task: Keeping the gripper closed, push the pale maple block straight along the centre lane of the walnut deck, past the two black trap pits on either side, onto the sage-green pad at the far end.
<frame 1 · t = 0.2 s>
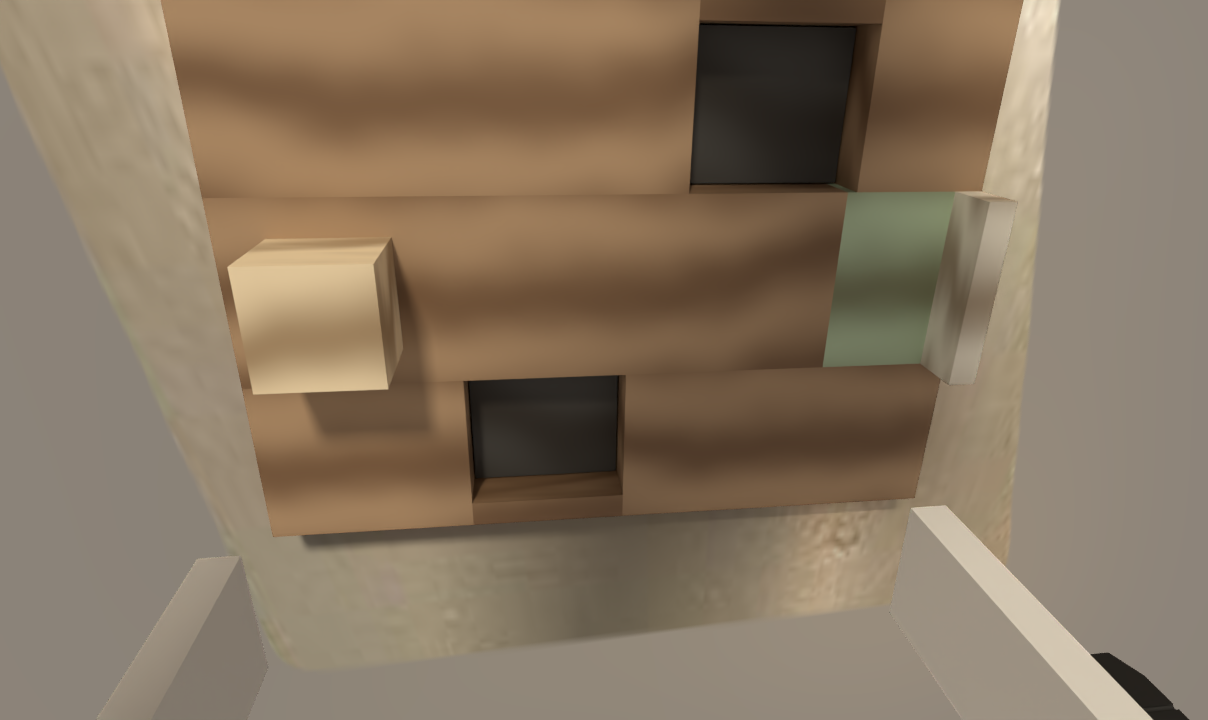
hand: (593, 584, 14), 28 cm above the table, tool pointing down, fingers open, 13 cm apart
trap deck: (607, 273, 40), on the table
maple block: (337, 296, 36), point 3 cm above the table, touching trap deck
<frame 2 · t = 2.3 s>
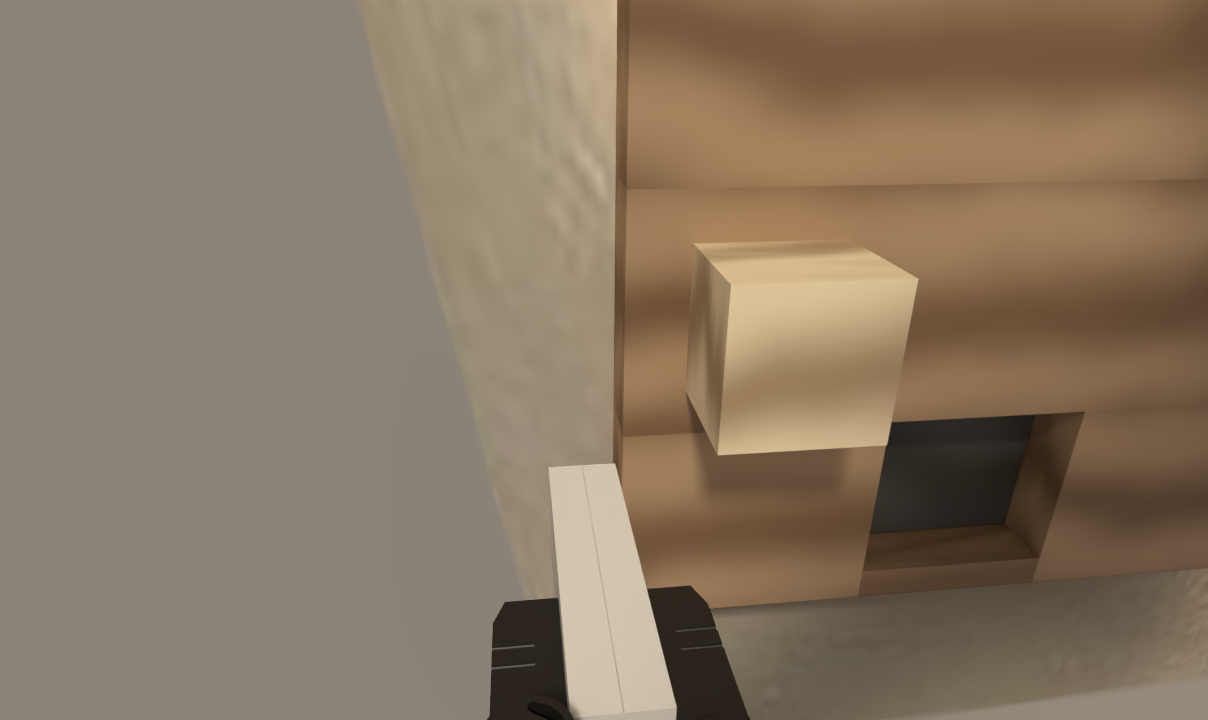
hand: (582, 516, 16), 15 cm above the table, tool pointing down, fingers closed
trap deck: (1051, 282, 32), on the table
maple block: (764, 317, 28), point 3 cm above the table, touching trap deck
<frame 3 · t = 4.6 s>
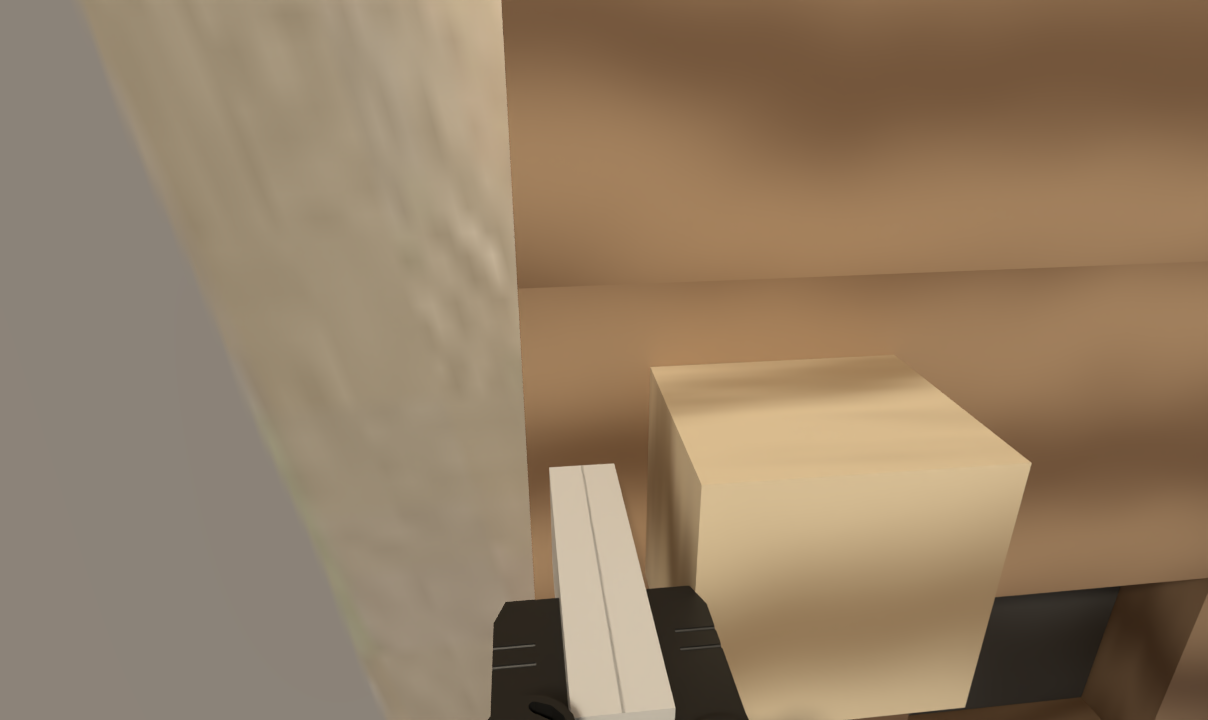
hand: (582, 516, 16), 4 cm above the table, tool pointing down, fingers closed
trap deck: (1159, 387, 22), on the table
maple block: (763, 468, 18), point 3 cm above the table, touching gripper
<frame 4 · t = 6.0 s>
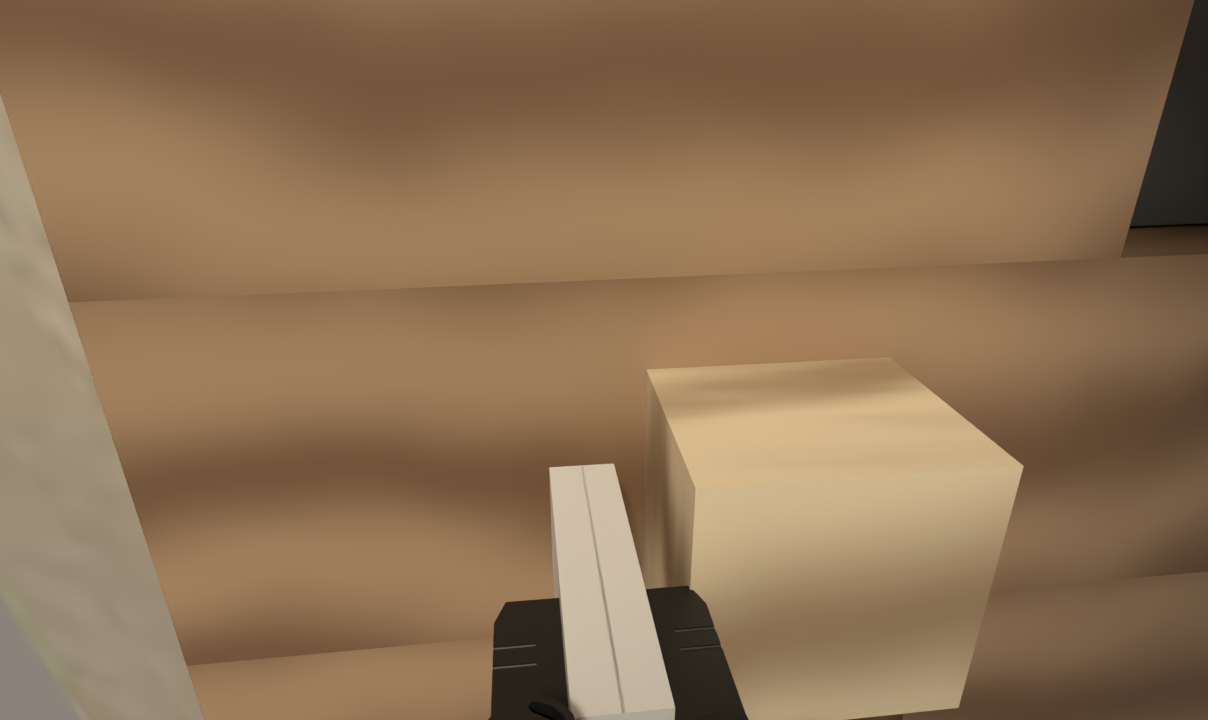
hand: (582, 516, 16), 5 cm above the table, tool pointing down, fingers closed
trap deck: (881, 398, 21), on the table
maple block: (759, 470, 18), point 3 cm above the table, touching gripper
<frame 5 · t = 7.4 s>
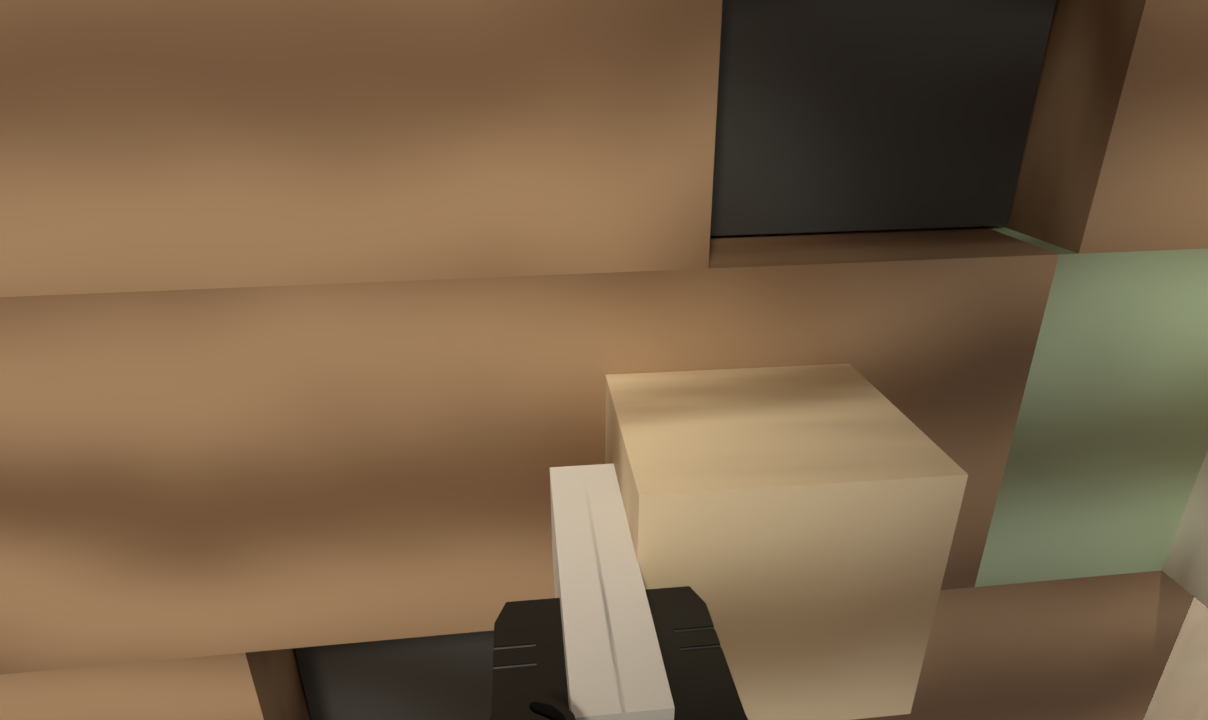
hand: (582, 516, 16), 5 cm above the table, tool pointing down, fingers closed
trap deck: (545, 413, 20), on the table
maple block: (721, 475, 18), point 3 cm above the table, touching gripper
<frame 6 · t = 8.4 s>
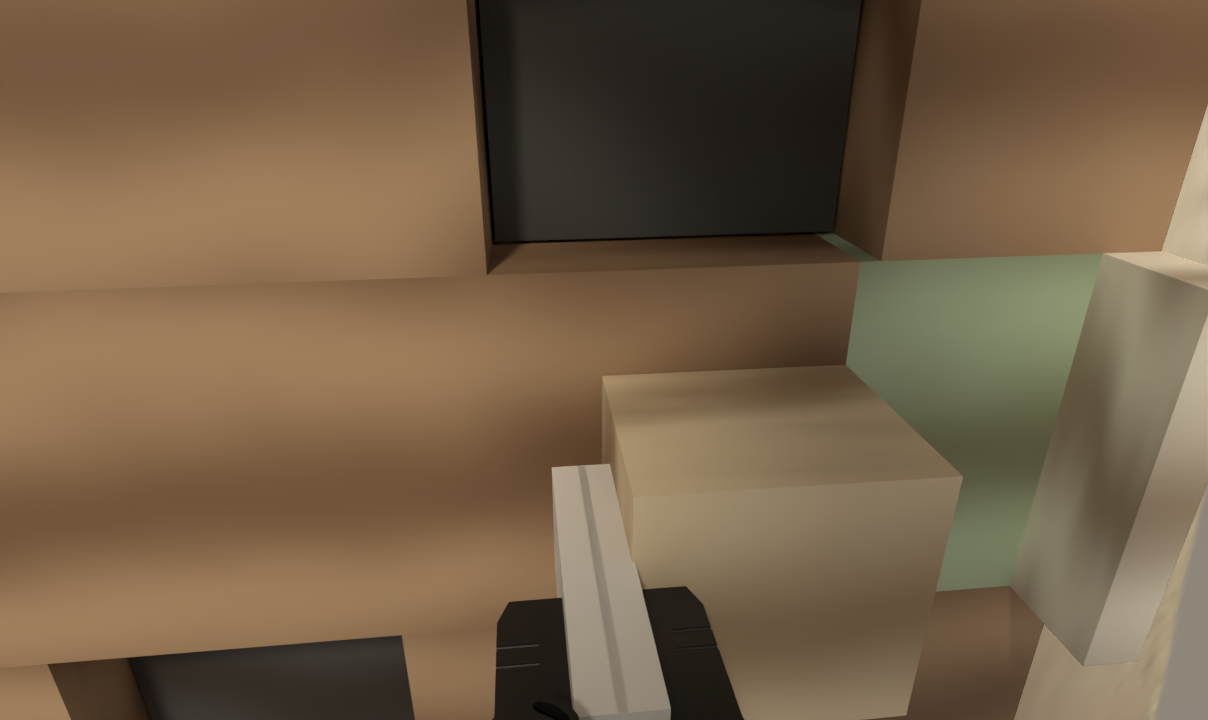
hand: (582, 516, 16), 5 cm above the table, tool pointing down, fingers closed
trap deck: (369, 421, 20), on the table
maple block: (717, 476, 18), point 3 cm above the table, touching gripper, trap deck
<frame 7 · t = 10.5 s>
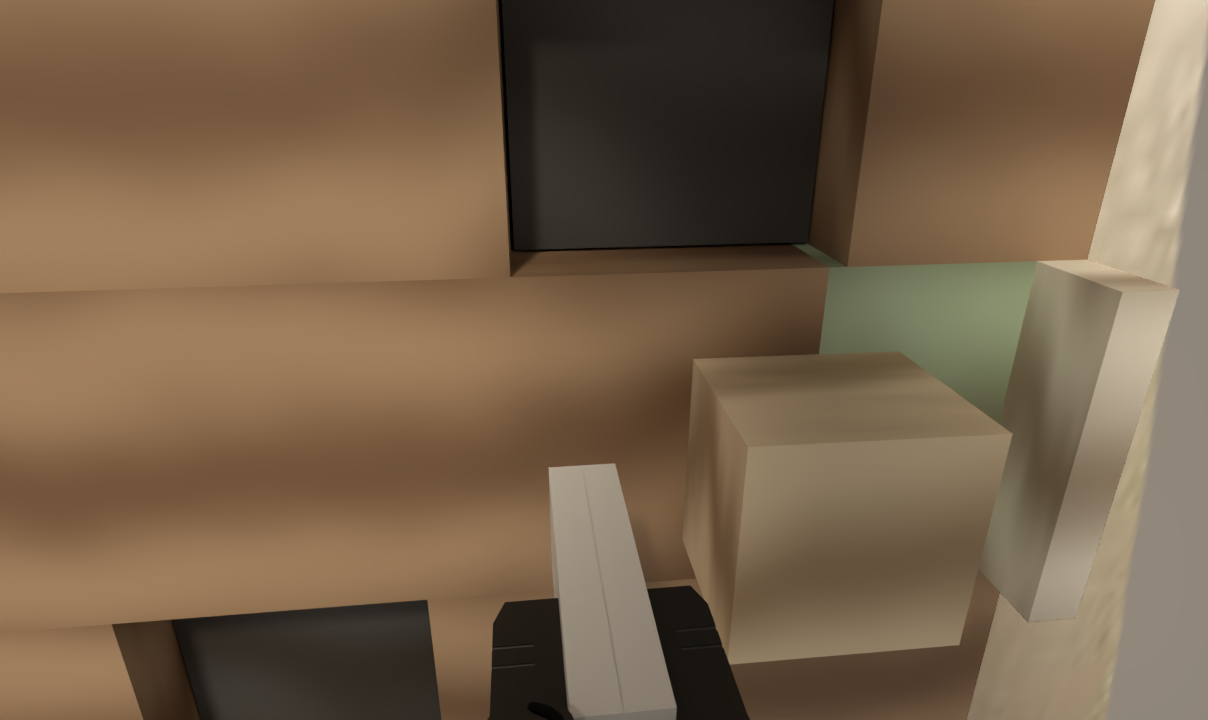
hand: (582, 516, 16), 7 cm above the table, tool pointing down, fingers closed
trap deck: (399, 409, 22), on the table
maple block: (786, 449, 21), point 3 cm above the table, touching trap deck
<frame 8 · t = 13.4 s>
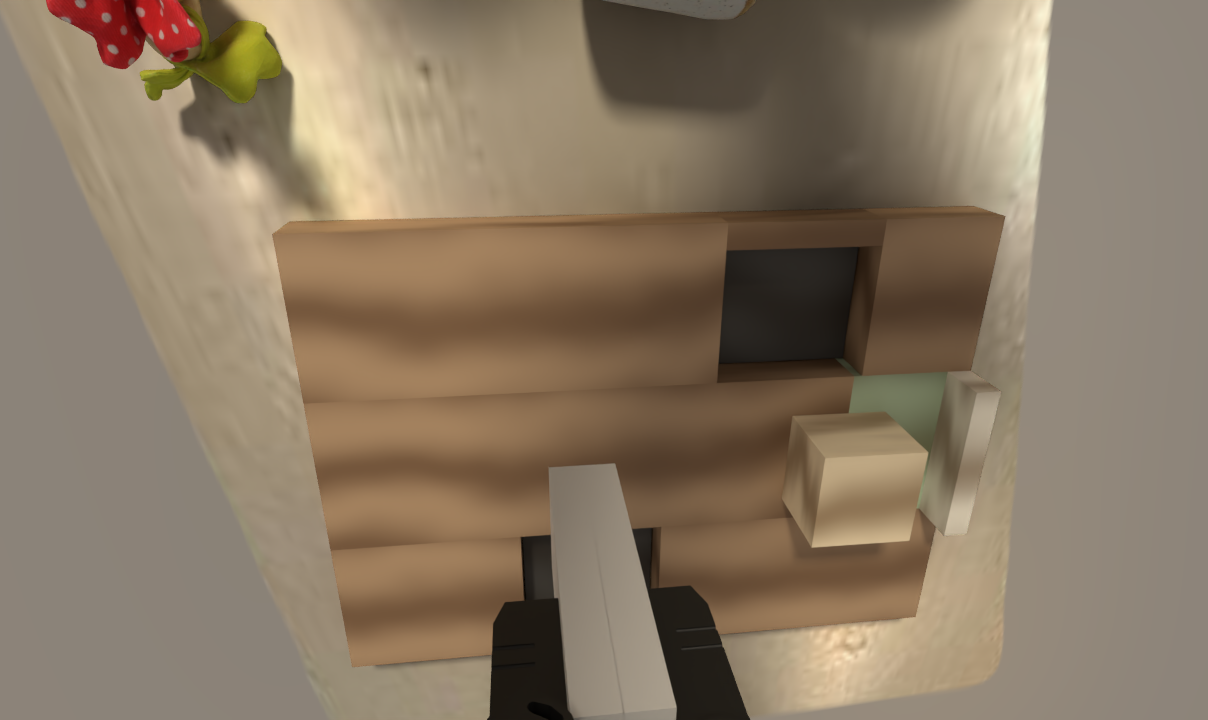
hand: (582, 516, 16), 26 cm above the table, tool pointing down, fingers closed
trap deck: (643, 436, 46), on the table
maple block: (832, 455, 45), point 3 cm above the table, touching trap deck
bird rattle: (199, 4, 34), on the table
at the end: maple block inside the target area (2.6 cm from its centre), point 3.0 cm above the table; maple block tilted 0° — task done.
